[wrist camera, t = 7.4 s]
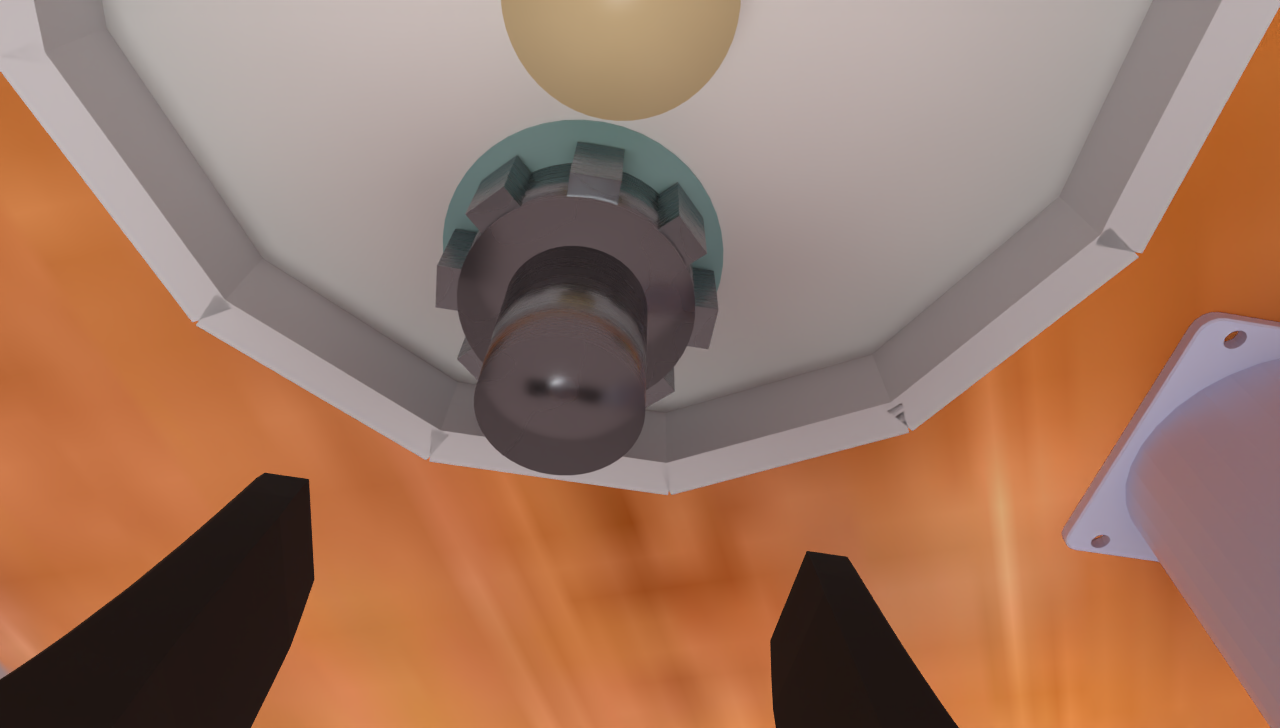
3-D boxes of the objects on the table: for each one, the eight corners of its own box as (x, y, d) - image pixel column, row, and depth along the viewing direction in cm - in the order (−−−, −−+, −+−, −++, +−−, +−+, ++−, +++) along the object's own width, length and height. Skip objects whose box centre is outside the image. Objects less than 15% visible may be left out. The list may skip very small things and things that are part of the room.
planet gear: (738, 167, 18) (765, 289, 13) (684, 389, 21) (691, 550, 16) (461, 119, 17) (390, 229, 13) (449, 354, 21) (389, 509, 16)
